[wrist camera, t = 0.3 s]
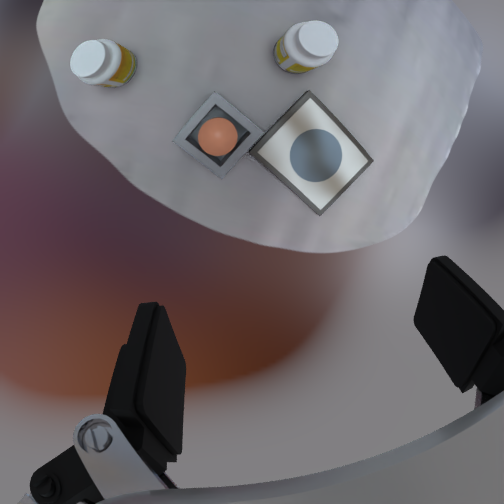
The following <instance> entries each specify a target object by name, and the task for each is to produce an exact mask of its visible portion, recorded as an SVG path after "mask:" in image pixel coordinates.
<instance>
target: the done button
mask: <svg viewBox="0 0 504 504" xmlns="http://www.w3.org/2000/svg"><path fill="white" fill-rule="evenodd" d="M237 138H238V135H237V130H236V128H235V127H234V125H233V124H232V123H231V122H230V121H229V120H227V119H225V118H222V117H215V118H212V119H210V120H208V121H207V122H205V123H204V124H203V125H202V127H201V128H200V130H199V134H198V141H199V144H200V146H201V148H202V149H203V150H204V151H205V152H206V153H208V154H210V155H213V156H221V155H225V154H227V153H229V152H230V151H231V150H232V149H233V148H234V147H235V145H236V143H237Z"/></svg>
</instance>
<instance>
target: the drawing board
mask: <svg viewBox="0 0 504 504" xmlns="http://www.w3.org/2000/svg"><path fill="white" fill-rule="evenodd" d="M249 153H250V154H251V155H252V156H254V157H255V158H256V159H257V160H258V161H259V162H261V163H262V164H263V165H264V166H265V167H266V168H267V169H269V170H270V171H271V172H272V173H273V174H274V175H275V176H277V177H278V178H279V179H280V180H281V181H282V182H283V183H284V184H285V185H287V186H288V187H289V188H290V189H291V190H292V191H293V192H294V193H295V194H296V195H298V196H299V197H300V198H301V199H302V200H303V201H304V202H305V203H306V204H307V205H308V206H309V207H310V208H312V209H313V210H314V211H315V212H316V213H317V214H318V215H319V216H321V215H322V214H323V213H324V212H325V211H326V210H327V209H328V208H329V207H330V206H331V205H332V204H333V203H334V201H335V200H336V199H337V198H338V197H339V196H340V195H341V194H342V193H343V192H344V191H345V190H346V189H347V188H348V187H349V186H350V185H351V184H352V183H353V182H354V181H355V180H356V179H357V178H358V177H359V176H360V175H361V174H362V173H363V172H364V171H365V170H366V168H367V167H368V166H369V165H370V164H371V163H372V162H373V159H372V158H371V157H370V156H369V155H368V153H367V152H366V151H365V150H364V149H363V147H362V146H361V145H360V144H359V143H358V141H357V140H356V139H355V138H354V137H353V136H352V135H351V133H350V132H349V131H348V130H347V129H346V128H345V127H344V126H343V125H342V123H341V122H340V121H339V120H338V119H337V118H336V117H335V116H334V115H333V114H332V113H331V112H330V111H329V110H328V109H327V107H326V106H325V105H324V104H323V103H322V102H321V101H320V100H319V99H318V98H317V97H316V96H315V95H314V94H313V93H312V92H311V91H310V90H309V91H307V92H306V93H305V94H303V95H302V96H301V97H300V98H299V99H298V100H297V101H296V102H295V103H294V104H293V105H292V106H291V107H290V108H289V109H288V110H287V112H286V113H285V114H284V115H283V116H282V117H281V118H280V119H279V120H278V121H277V122H276V123H275V124H274V125H273V126H272V127H271V128H270V129H269V130H268V131H267V132H266V133H265V134H264V135H263V136H262V138H261V139H260V140H259V141H258V142H257V143H256V144H255V145H254V146H253V147H252V148H251V149H250V150H249Z"/></svg>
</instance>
